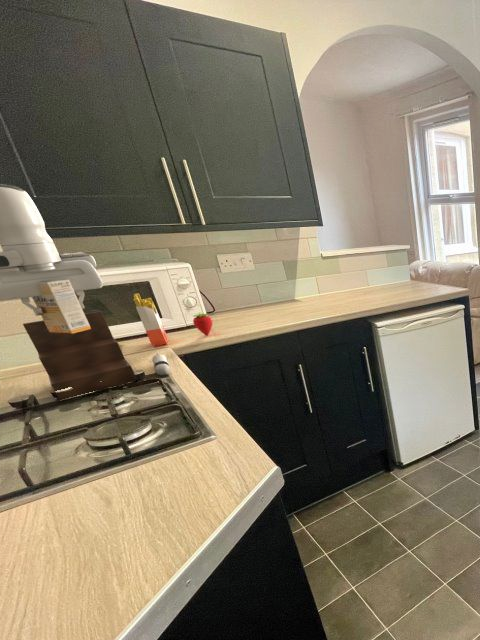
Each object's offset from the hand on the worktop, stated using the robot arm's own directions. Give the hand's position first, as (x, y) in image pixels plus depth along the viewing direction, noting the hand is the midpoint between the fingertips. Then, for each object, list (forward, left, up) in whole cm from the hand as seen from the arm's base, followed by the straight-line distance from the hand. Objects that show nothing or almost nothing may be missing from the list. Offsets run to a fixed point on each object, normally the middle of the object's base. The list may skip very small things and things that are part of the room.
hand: (60, 311), depth 108 cm
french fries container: (+21, +37, -22) cm, 48 cm away
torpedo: (+15, +2, -22) cm, 27 cm away
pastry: (+6, +40, -22) cm, 46 cm away
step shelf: (0, +5, -22) cm, 22 cm away
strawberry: (+35, +34, -22) cm, 53 cm away
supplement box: (0, 0, -5) cm, 5 cm away
